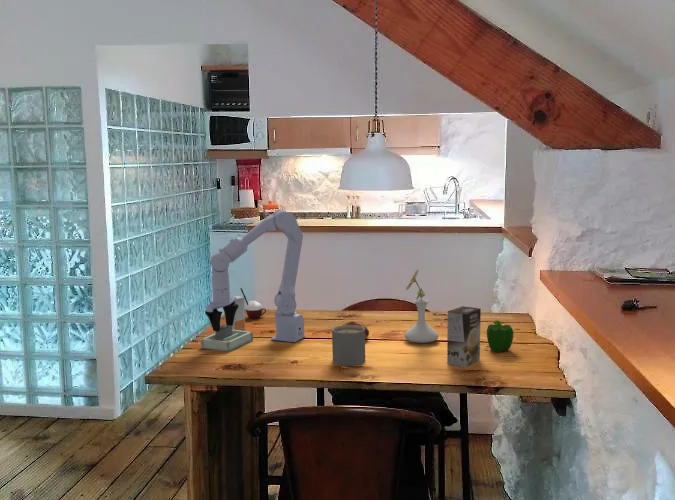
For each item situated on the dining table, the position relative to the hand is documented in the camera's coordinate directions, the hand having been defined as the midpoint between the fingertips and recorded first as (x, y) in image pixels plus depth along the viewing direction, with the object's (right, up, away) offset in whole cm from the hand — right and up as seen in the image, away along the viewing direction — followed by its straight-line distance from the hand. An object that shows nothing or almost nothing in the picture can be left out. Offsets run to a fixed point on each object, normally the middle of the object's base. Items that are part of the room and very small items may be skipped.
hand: (223, 328), depth 222 cm
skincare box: (+1, -3, +18) cm, 19 cm away
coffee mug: (+42, -7, -19) cm, 47 cm away
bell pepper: (+89, -6, -13) cm, 91 cm away
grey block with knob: (0, -5, +1) cm, 5 cm away
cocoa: (+6, 0, +36) cm, 36 cm away
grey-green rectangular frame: (+1, -5, 0) cm, 6 cm away
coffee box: (+76, -7, -25) cm, 80 cm away
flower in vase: (+66, -4, -2) cm, 66 cm away
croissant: (+44, -4, +3) cm, 45 cm away
